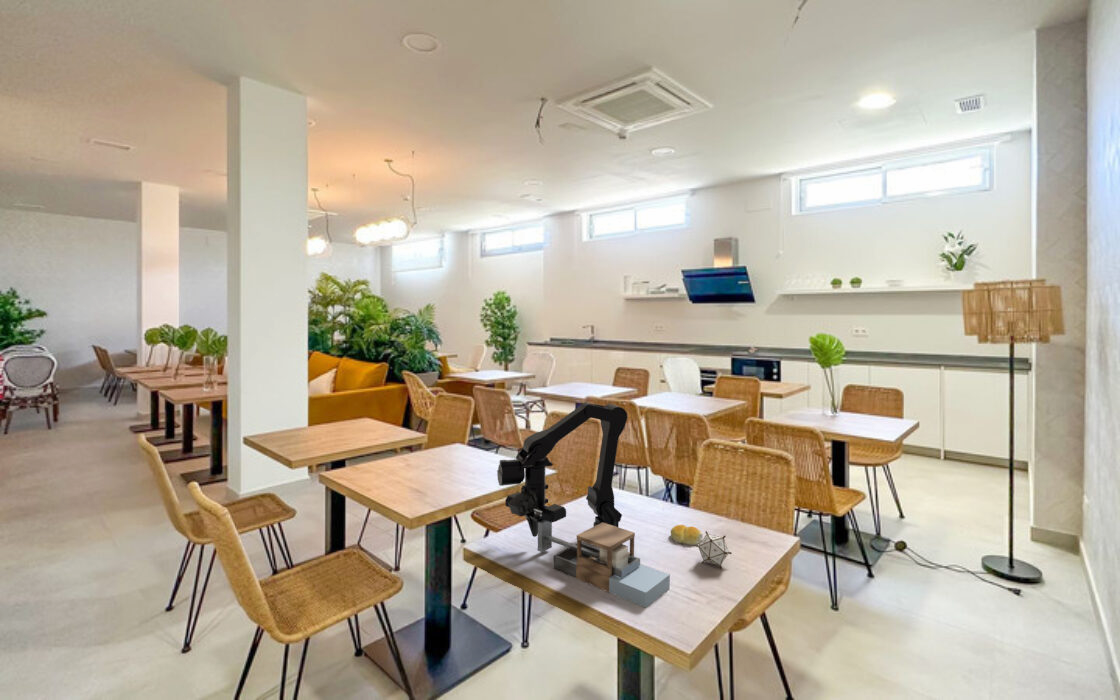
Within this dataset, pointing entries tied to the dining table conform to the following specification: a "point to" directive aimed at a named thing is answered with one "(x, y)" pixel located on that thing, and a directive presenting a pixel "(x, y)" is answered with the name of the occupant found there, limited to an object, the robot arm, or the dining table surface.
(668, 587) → the pad
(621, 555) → the block
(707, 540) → the game die
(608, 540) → the tunnel
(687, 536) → the bread roll
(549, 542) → the slider
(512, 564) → the dining table surface
